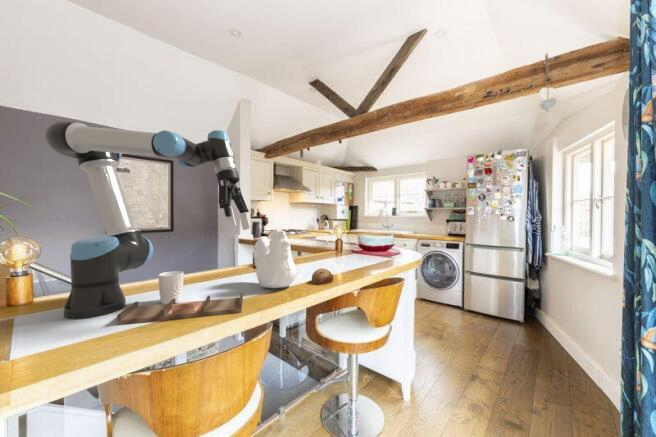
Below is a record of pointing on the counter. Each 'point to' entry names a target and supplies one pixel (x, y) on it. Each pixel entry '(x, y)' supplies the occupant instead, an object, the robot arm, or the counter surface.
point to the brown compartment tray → (179, 310)
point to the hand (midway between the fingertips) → (239, 228)
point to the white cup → (171, 286)
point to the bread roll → (322, 276)
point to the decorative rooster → (274, 260)
